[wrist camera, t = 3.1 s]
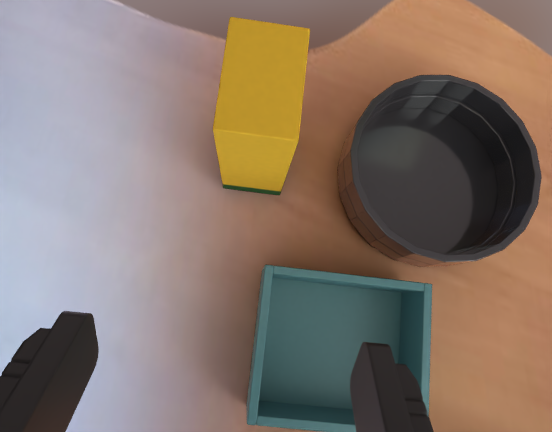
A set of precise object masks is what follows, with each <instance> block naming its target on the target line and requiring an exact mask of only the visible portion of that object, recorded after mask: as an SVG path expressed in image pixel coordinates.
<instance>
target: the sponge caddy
mask: <svg viewBox="0 0 552 432" xmlns="http://www.w3.org/2000/svg"><path fill="white" fill-rule="evenodd" d="M431 306H432V284H428V283H419V282H411V281H402V280H394V279H385V278H376V277H368V276H359V275H351V274H342V273H334V272H325V271H316V270H308V269H299V268H291V267H282V266H273V265H265V266H264V268H263V270H262V275H261V283H260V292H259V301H258V309H257V318H256V327H255V335H254V344H253V353H252V361H251V370H250V379H249V387H248V396H247V404H246V406H247V424H248V425H259V426H270V427H280V428H291V429H301V430H312V431H322V432H356V428H355V421H354V414H353V408H352V401H351V394H350V378H351V373H352V370H353V367H354V364H355V361H356V358H357V356H358V353H359V350H360V347H361V345H362V343H363V342H372V343H382V344H388V345H389V346H390V347H391V350H392V354H393V357H394V361H395V363H396V364H406V366H407V367H408V368H409V370H410V371H411V372H412V374H413V375H414V377H415V378H416V379H417V381H418V384H419V387H420V390H421V393H422V397H423V402H424V403H425V406H426V409H427V416H428V417H429V381H430V344H431Z"/></svg>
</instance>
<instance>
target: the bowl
mask: <svg viewBox="0 0 552 432" xmlns="http://www.w3.org/2000/svg"><path fill="white" fill-rule="evenodd" d="M337 171H338V183H339V194H340V198H341V200H342V203H343V205H344V208H345V210H346V213H347V215H348V217H349V220H350V221H351V223H352V224H353V225H354V226H355V228H356V229H357V230H358V232H359V233H360V234H361V235H362V236H363V237H364V238H365V240H366V241H367V242H368V243H369V244H370V245H372V246H373V247H375V248H376V249H378V250H379V251H381V252H382V253H384V254H385V255H387V256H388V257H390V258H392V259H394V260H397V261H401V262H404V263H408V264H411V265H415V266H418V267H431V266H448V265H454V264H460V263H466V262H472V261H477V260H480V259H482V258H485V257H487V256H490V255H492V254H494V253H497V252H499V251H502V250H503V249H505V248H506V247H507V246H508V245H509V244H510V243H512V242H513V241H514V240H515V239H516V238H517V237H518V236H519V235H520V234H521V233H522V232H524V230H525V229H526V227H527V225H528V223H529V221H530V219H531V217H532V215H533V213H534V211H535V209H536V207H537V205H538V200H539V192H540V184H541V171H540V165H539V160H538V155H537V149H536V146H535V144H534V142H533V140H532V138H531V136H530V134H529V132H528V131H527V129H526V127H525V125H524V123H523V121H522V120H521V119H520V118H519V117H518V115H517V114H516V113H515V112H514V111H513V110H512V109H511V108H510V107H509V106H508V105H507V104H506V102H505V101H504V100H503V99H502V98H500V97H498V96H497V95H495V94H493V93H492V92H490V91H489V90H487V89H485V88H484V87H482V86H481V85H479V84H477V83H475V82H471V81H468V80H464V79H461V78H458V77H454V76H451V75H419V76H416V77H413V78H410V79H407V80H404V81H400V82H397V83H395V84H393V85H391V86H390V87H389V88H387V89H386V90H385V91H383V92H382V93H381V94H379V95H378V96H377V97H375V98H374V99H373V100H372V101H371V102H370V104H369V105H368V107H367V108H366V110H365V111H364V113H363V114H362V116H361V117H360V119H359V120H358V122H357V124H356V125H355V127H354V128H353V130H352V131H351V133H350V134H349V136H348V138H347V139H346V141H345V142H344V144H343V148H342V152H341V156H340V160H339V164H338V169H337Z"/></svg>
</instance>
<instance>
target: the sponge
mask: <svg viewBox="0 0 552 432" xmlns="http://www.w3.org/2000/svg"><path fill="white" fill-rule="evenodd" d="M309 34H310V29H308V28H302V27H295V26H288V25H282V24H275V23H269V22H262V21H255V20H248V19H242V18H235V17H230V19H229V26H228V32H227V39H226V45H225V52H224V58H223V65H222V71H221V78H220V84H219V91H218V98H217V104H216V111H215V117H214V124H213V133H214V139H215V144H216V150H217V155H218V161H219V167H220V172H221V178H222V183H223V188H226V189H234V190H242V191H250V192H257V193H265V194H273V195H280V193H281V190H282V187H283V184H284V181H285V178H286V175H287V172H288V169H289V167H290V164H291V161H292V158H293V155H294V152H295V149H296V146H297V143H298V141H299V132H300V122H301V112H302V103H303V93H304V83H305V74H306V64H307V54H308V45H309Z"/></svg>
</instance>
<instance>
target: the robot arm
mask: <svg viewBox="0 0 552 432" xmlns="http://www.w3.org/2000/svg"><path fill="white" fill-rule="evenodd" d="M97 358H98V342H97V336H96V330H95V324H94V318H93V315H92V314H91V313H81V312H70V311H64V312H62V313H61V314H60V315H59V317H58V318H57V320H56V322H55V323H54V325H53V326H52V328H51V329H46V328H40V329H39V330H37V331H36V332H35V333H34V334H32V335H31V336H30V337H29V338H27V339H26V340H25V341H24V342H23V343H22V344H21V346H20V347H19V349H18V350H17V352H16V353H15V354H14V356H13V357H12V360H11V362H9V363H8V365H7V366H6V368H5V369H4V371H3V372H2V376H0V432H65V431H66V429H67V427H68V425H69V423H70V421H71V418H72V416H73V414H74V412H75V410H76V408H77V405H78V403H79V401H80V399H81V397H82V395H83V392H84V390H85V388H86V386H87V384H88V382H89V379H90V377H91V375H92V373H93V371H94V368H95V366H96V362H97ZM350 394H351V401H352V408H353V414H354V421H355V428H356V432H433V428H432V425H431V422H430V419H429V417H428V416H427V409H426V406H425V403H424V402H423V397H422V393H421V390H420V387H419V384H418V381H417V379H416V378H415V377H414V375H413V374H412V372H411V371H410V370H409V368H408V367H407V366H406V364H396V363H395V361H394V357H393V354H392V350H391V347H390V346H389V345H388V344H382V343H372V342H363V343H362V345H361V347H360V350H359V353H358V356H357V358H356V361H355V364H354V367H353V370H352V373H351V378H350Z"/></svg>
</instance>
